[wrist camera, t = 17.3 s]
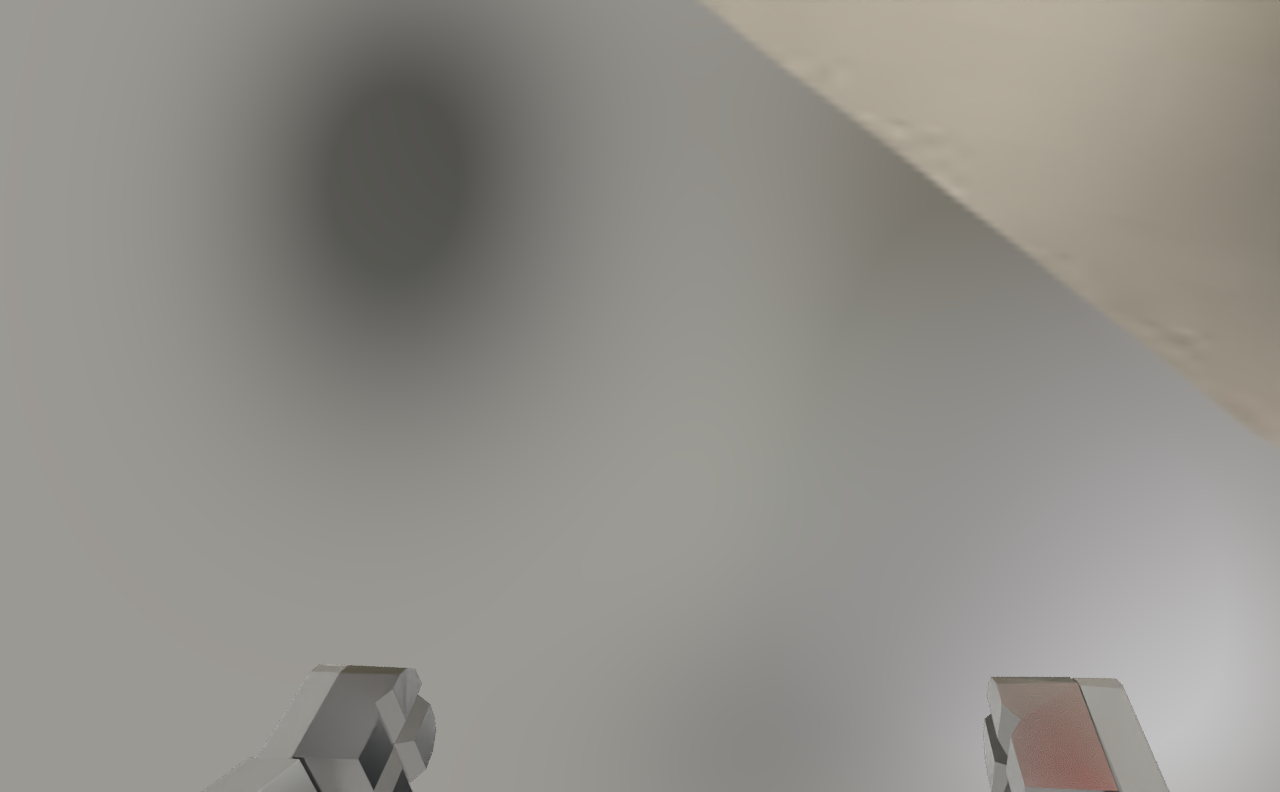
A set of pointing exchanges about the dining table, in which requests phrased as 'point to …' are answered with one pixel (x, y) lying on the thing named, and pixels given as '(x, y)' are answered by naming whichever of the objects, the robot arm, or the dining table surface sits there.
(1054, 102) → the dining table surface
